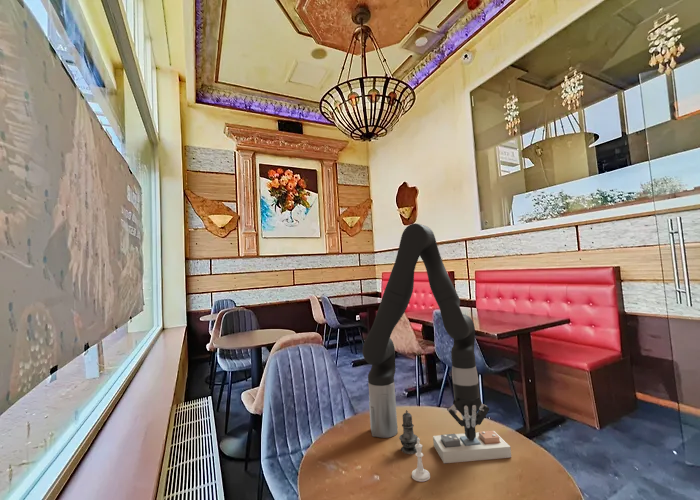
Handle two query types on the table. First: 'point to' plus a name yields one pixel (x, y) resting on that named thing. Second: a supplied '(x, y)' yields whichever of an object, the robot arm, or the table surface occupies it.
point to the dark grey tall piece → (408, 435)
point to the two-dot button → (489, 437)
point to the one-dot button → (469, 441)
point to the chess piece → (420, 466)
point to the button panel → (471, 450)
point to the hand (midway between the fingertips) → (470, 438)
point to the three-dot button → (450, 440)
